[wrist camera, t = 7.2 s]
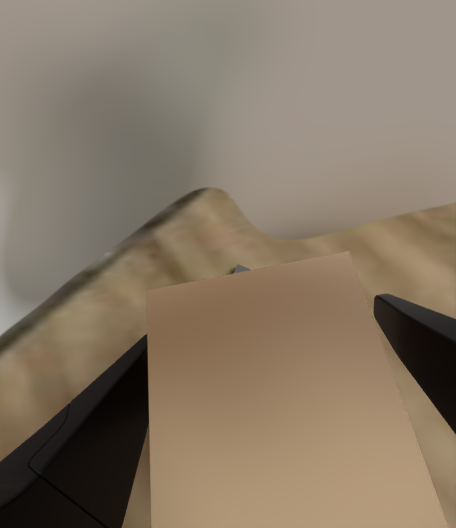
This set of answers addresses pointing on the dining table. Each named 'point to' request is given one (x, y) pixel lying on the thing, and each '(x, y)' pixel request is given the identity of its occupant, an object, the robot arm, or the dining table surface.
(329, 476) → the block
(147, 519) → the dining table surface
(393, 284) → the dining table surface
